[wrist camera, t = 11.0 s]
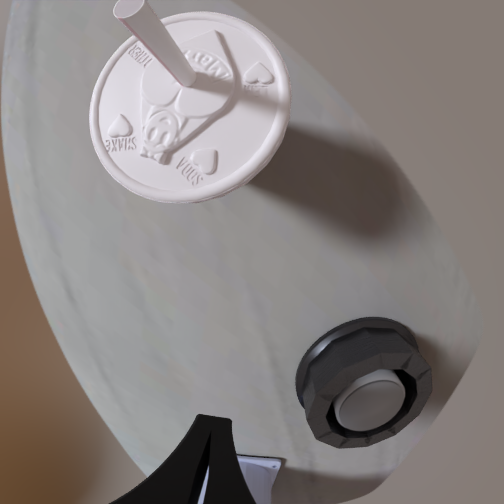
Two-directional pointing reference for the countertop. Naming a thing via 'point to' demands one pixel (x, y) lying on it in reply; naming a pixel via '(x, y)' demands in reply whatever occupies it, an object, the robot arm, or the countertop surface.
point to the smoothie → (188, 104)
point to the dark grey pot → (358, 365)
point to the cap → (369, 400)
